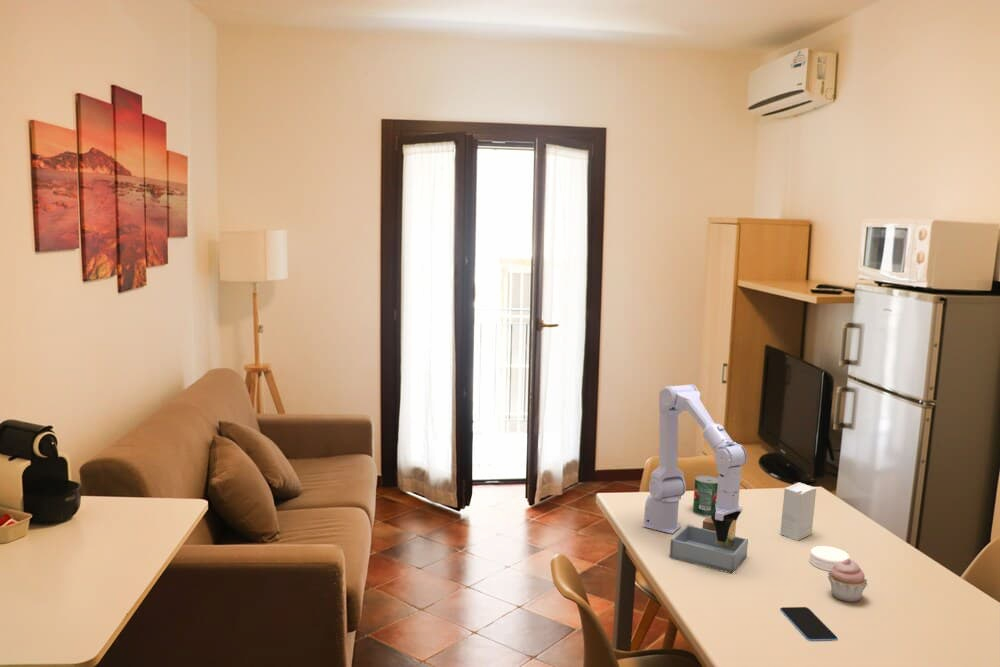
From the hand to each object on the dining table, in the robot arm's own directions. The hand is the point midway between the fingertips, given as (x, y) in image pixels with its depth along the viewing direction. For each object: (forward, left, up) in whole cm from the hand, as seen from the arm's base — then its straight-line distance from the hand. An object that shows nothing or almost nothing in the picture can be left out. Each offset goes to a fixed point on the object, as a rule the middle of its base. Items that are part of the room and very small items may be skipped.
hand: (724, 537), depth 216 cm
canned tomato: (-16, +33, -7) cm, 37 cm away
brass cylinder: (0, 0, -2) cm, 2 cm away
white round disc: (+24, +15, -7) cm, 30 cm away
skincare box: (+12, +31, -7) cm, 34 cm away
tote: (-4, 0, -6) cm, 8 cm away
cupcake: (+31, -3, -7) cm, 32 cm away
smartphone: (+26, -23, -7) cm, 36 cm away
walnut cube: (-8, +15, -7) cm, 18 cm away
